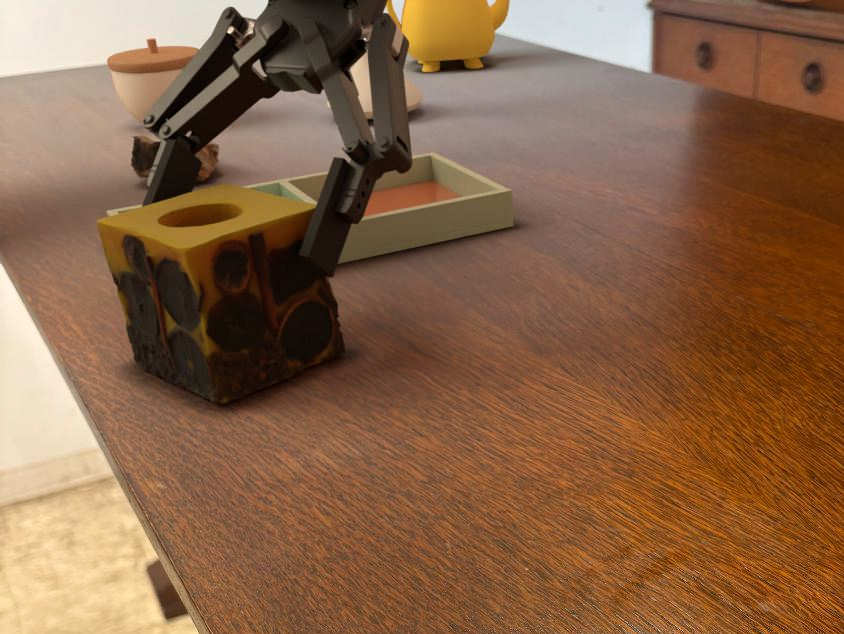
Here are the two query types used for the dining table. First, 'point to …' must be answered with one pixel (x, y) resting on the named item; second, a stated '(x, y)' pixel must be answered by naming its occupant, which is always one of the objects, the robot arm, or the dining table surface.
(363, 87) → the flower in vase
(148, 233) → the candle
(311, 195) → the tray
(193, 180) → the robot arm
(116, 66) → the trinket box
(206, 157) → the rock
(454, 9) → the teapot
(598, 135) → the dining table surface
